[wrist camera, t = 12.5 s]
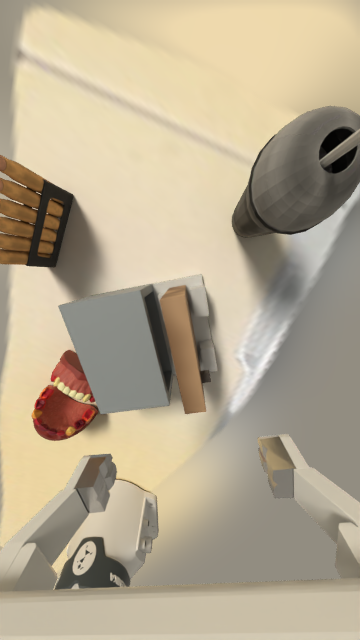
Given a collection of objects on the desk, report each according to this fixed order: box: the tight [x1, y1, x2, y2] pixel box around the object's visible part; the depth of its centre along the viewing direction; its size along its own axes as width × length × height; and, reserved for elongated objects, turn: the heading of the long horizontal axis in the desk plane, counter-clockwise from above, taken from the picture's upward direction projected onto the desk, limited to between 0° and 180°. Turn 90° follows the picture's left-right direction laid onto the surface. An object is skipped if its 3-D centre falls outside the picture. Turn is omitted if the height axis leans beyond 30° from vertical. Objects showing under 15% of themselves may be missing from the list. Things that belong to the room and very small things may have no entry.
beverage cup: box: [232, 106, 360, 237], centre depth 15 cm, size 7×7×20 cm
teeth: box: [32, 350, 98, 441], centre depth 30 cm, size 10×8×15 cm
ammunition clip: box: [0, 155, 73, 267], centre depth 20 cm, size 11×2×12 cm, turn 154°
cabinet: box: [58, 274, 218, 414], centre depth 26 cm, size 16×18×8 cm
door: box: [160, 285, 211, 414], centre depth 24 cm, size 4×14×10 cm, turn 11°
